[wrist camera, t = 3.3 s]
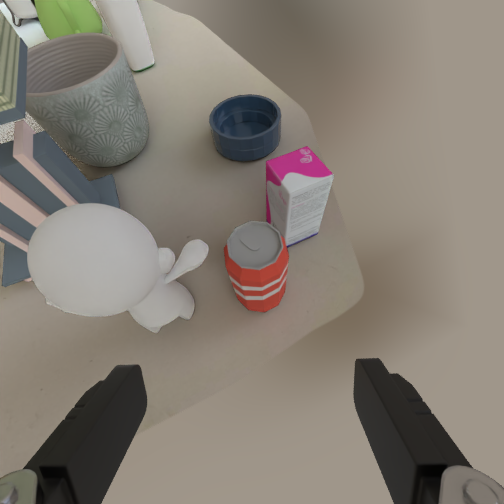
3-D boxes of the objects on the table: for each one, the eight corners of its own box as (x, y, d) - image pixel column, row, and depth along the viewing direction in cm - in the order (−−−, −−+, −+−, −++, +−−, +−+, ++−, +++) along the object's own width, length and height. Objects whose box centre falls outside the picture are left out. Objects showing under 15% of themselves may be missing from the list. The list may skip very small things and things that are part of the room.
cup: (134, 77, 63) (98, -6, 50) (123, 65, 66) (86, -16, 53) (161, 65, 64) (133, -18, 51) (149, 55, 67) (119, -26, 54)
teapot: (47, 34, 78) (8, -28, 67) (95, 19, 81) (66, -43, 70) (62, 63, 68) (20, -3, 57) (116, 44, 72) (86, -22, 60)
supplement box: (319, 233, 38) (336, 175, 28) (283, 250, 37) (287, 195, 27) (299, 205, 40) (307, 143, 30) (265, 220, 39) (262, 161, 29)
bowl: (286, 123, 50) (287, 97, 46) (271, 168, 45) (271, 143, 40) (226, 116, 52) (222, 91, 48) (205, 158, 47) (198, 134, 43)
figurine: (217, 265, 36) (165, 145, 19) (238, 320, 32) (197, 232, 15) (106, 309, 34) (-66, 220, 17) (114, 372, 31) (-99, 343, 13)
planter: (95, 197, 44) (18, 112, 31) (61, 149, 51) (-13, 63, 38) (178, 149, 49) (142, 57, 36) (136, 110, 56) (93, 21, 42)
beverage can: (259, 260, 36) (253, 205, 26) (294, 290, 34) (303, 243, 23) (227, 290, 34) (207, 244, 24) (261, 323, 32) (255, 289, 22)
